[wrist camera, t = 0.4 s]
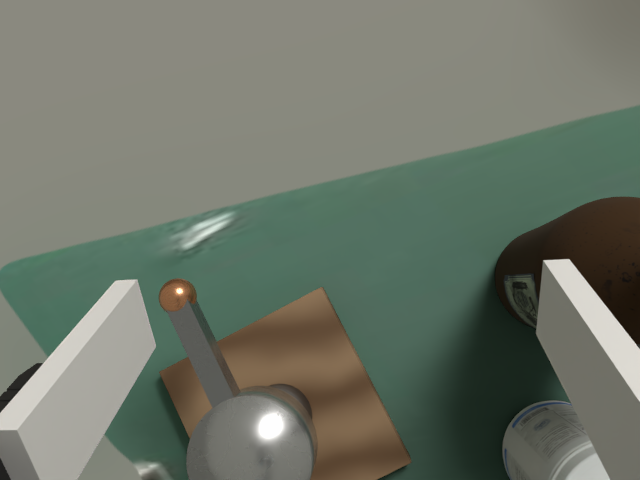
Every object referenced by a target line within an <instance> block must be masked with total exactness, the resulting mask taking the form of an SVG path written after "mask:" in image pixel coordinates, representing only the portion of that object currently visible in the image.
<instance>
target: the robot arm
mask: <svg viewBox="0 0 640 480" xmlns="http://www.w3.org/2000/svg"><path fill="white" fill-rule="evenodd" d="M536 335H537V337H538V339H539V341H540V343H541V345H542V347H543V349H544V351H545V353H546V355H547V357H548V359H549V361H550V363H551V365H552V367H553V369H554V371H555V373H556V374H557V376H558V378H559V380H560V382H561V384H562V386H563V388H564V390H565V392H566V394H567V396H568V398H569V400H570V402H571V404H572V406H573V408H574V410H575V412H576V414H577V416H578V418H579V420H580V421H581V423H582V425H583V427H584V429H585V431H586V433H587V435H588V437H589V439H590V441H591V443H592V445H593V447H594V449H595V451H596V453H597V455H598V457H599V459H600V461H601V463H602V465H603V467H604V468H605V470H606V472H607V474H608V476H609V478H610V480H640V344H635V342H634V341H633V340H632V339H631V337H630V336H629V335H628V333H627V332H626V331H625V330H624V328H623V327H622V326H621V325H620V323H619V322H618V321H617V319H616V318H615V317H614V316H613V314H612V313H611V312H610V311H609V309H608V308H607V307H606V305H605V304H604V303H603V302H602V300H601V299H600V298H599V296H598V295H597V294H596V293H595V291H594V290H593V289H592V288H591V286H590V285H589V284H588V282H587V281H586V280H585V279H584V277H583V276H582V275H581V274H580V272H579V271H578V270H577V268H576V267H575V266H574V265H573V263H572V262H571V261H570V259H560V260H543V267H542V277H541V287H540V297H539V308H538V318H537V328H536ZM155 347H156V344H155V341H154V337H153V334H152V330H151V327H150V323H149V320H148V316H147V312H146V309H145V305H144V302H143V298H142V295H141V291H140V288H139V284H138V281H137V280H118V281H115V282H114V283H113V284H112V285H111V286H110V288H109V289H108V290H107V291H106V292H105V293H104V294H103V296H102V297H101V298H100V299H99V300H98V301H97V303H96V304H95V305H94V306H93V307H92V308H91V309H90V311H89V312H88V313H87V314H86V315H85V316H84V317H83V319H82V320H81V321H80V322H79V323H78V324H77V325H76V327H75V328H74V329H73V330H72V331H71V332H70V333H69V335H68V336H67V337H66V338H65V339H64V340H63V342H62V343H61V344H60V345H59V346H58V347H57V348H56V350H55V351H54V352H53V353H52V354H51V355H50V356H49V358H48V359H47V360H46V361H45V362H44V363H37V364H35V365H34V366H33V367H31V368H30V369H28V370H26V371H25V372H24V373H22V374H21V375H19V376H18V378H17V379H16V380H15V381H14V382H13V383H12V384H11V385H10V386H9V388H7V392H4V393H3V394H2V395H1V396H0V480H77V479H78V477H79V475H80V474H81V472H82V471H83V469H84V467H85V465H86V464H87V462H88V460H89V459H90V457H91V455H92V454H93V452H94V450H95V449H96V447H97V445H98V443H99V442H100V440H101V438H102V437H103V435H104V433H105V432H106V430H107V428H108V427H109V425H110V423H111V422H112V420H113V418H114V417H115V415H116V413H117V411H118V410H119V408H120V406H121V405H122V403H123V401H124V400H125V398H126V396H127V395H128V393H129V391H130V390H131V388H132V386H133V384H134V383H135V381H136V379H137V378H138V376H139V374H140V373H141V371H142V369H143V368H144V366H145V364H146V363H147V361H148V359H149V357H150V356H151V354H152V352H153V351H154V349H155Z"/></svg>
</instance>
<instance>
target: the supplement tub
mask: <svg viewBox="0 0 640 480" xmlns="http://www.w3.org/2000/svg"><path fill="white" fill-rule="evenodd" d="M502 451H503V460H504V465H505V469H506V471H507V474H508V476H509V478H510V480H610V478H609V476H608V474H607V472H606V470H605V468H604V467H603V465H602V463H601V461H600V459H599V457H598V455H597V453H596V451H595V449H594V447H593V445H592V443H591V441H590V439H589V437H588V435H587V433H586V431H585V429H584V427H583V425H582V423H581V421H580V420H579V418H578V416H577V414H576V412H575V410H574V408H573V406H572V404H571V403H568V402H564V401H556V400H551V401H542V402H538V403H534V404H532V405H530V406H528V407H526V408H524V409H523V410H522V411H520V412H519V413H518V414H517V415H516V416H515V417H514V418H513V420H512V421H511V422H510V424H509V426H508V427H507V430H506V432H505V435H504V439H503V448H502Z"/></svg>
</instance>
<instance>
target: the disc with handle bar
mask: <svg viewBox="0 0 640 480" xmlns="http://www.w3.org/2000/svg"><path fill="white" fill-rule="evenodd" d="M196 298H197V294H196V290H195V288H194V286H193V285H192V284H191V283H190V282H189V281H187V280H184V279H179V278H178V279H172V280H170V281H168V282H166V283H165V284H164V285H163V286H162V288H161V290H160V292H159V303H160V305H161V307H162V308H163V309H164V310H165V311H166V312H167V313H168V315H169V317H170V319H171V321H172V323H173V325H174V327H175V330H176V332H177V334H178V336H179V338H180V340H181V342H182V344H183V347H184V349H185V351H186V353H187V355H188V357H189V359H190V361H191V364H192V366H193V368H194V370H195V372H196V374H197V376H198V378H199V381H200V383H201V385H202V387H203V389H204V391H205V393H206V395H207V398H208V400H209V402H210V404H211V406H212V409H211V410H210V411H209V412H207V413H206V414H205V415H204V416H203V418H202V419H201V420H200V421H199V423H198V424H197V425H196V427H195V429H194V431H193V433H192V435H191V438H190V441H189V445H188V449H187V473H188V478H189V480H310V478H311V475H312V472H313V469H314V466H315V463H316V458H317V451H318V440H317V433H316V430H315V426H314V424H313V421H312V419H311V417H310V415H309V414H308V412H307V411H306V409H305V408H304V407H303V405H302V404H301V403H300V402H299V401H298V400H297V399H295V398H294V397H293V396H291V395H290V394H288V393H286V392H285V391H282V390H280V389H277V388H274V387H269V386H251V387H246V388H243V389H240V390H239V387H238V385H237V383H236V381H235V379H234V377H233V375H232V373H231V371H230V369H229V367H228V365H227V362H226V360H225V358H224V356H223V354H222V352H221V350H220V348H219V346H218V344H217V342H216V340H215V337H214V335H213V333H212V331H211V329H210V327H209V325H208V323H207V321H206V319H205V317H204V315H203V312H202V310H201V308H200V306H199V304H198V302H197V300H196Z"/></svg>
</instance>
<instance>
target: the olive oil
mask: <svg viewBox="0 0 640 480" xmlns="http://www.w3.org/2000/svg"><path fill="white" fill-rule="evenodd" d="M560 259H570V261H571V262H572V263H573V265H574V266H575V267H576V268H577V270H578V271H579V272H580V274H581V275H582V276H583V277H584V279H585V280H586V281H587V282H588V284H589V285H590V286H591V288H592V289H593V290H594V291H595V293H596V294H597V295H598V296H599V298H600V299H601V300H602V302H603V303H604V304H605V305H606V307H607V308H608V309H609V311H610V312H611V313H612V314H613V316H614V317H615V318H616V319H617V321H618V322H619V323H620V325H621V326H622V327H623V328H624V330H625V331H626V332H627V333H628V335H629V336H630V337H631V339H632V340H633V341H634V342H635V344H640V198H636V197H611V198H604V199H600V200H596V201H592V202H589V203H587V204H584V205H582V206H580V207H577V208H575V209H574V210H572V211H570V212H568V213H566V214H564V215H562V216H560V217H558V218H557V219H555V220H553V221H551V222H549V223H547V224H545V225H543V226H541V227H538V228H536V229H534V230H531V231H529V232H527V233H524V234H522V235H520V236H519V237H517V238H516V239H514V240H513V241H512V242H511V243H510V244H509V245H508V246H507V247H506V248H505V249H504V251H503V252H502V254H501V256H500V258H499V260H498V263H497V266H496V271H495V285H496V290H497V293H498V296H499V298H500V300H501V302H502V304H503V305H504V307H505V308H506V309H507V311H508V312H509V313H510V314H511V315H512V316H514V317H515V318H516V319H517V320H519V321H520V322H522V323H524V324H526V325H528V326H531V327H533V328H537V318H538V308H539V297H540V287H541V277H542V267H543V260H560Z"/></svg>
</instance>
